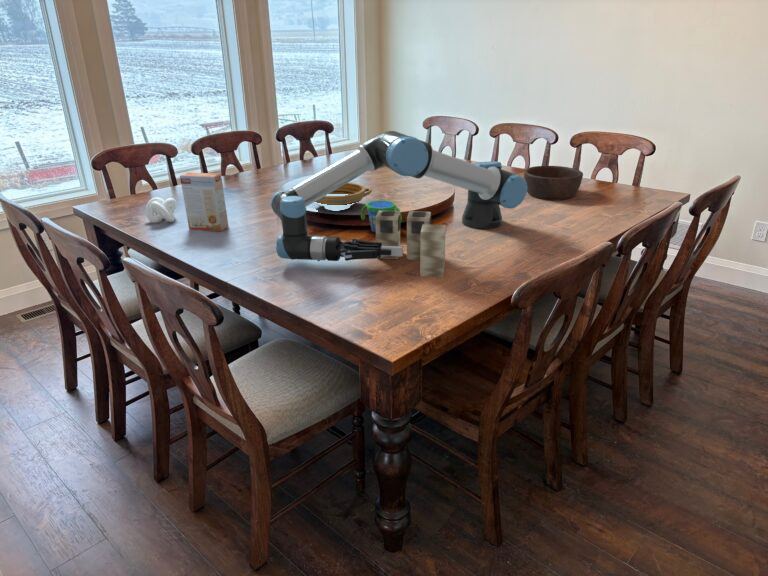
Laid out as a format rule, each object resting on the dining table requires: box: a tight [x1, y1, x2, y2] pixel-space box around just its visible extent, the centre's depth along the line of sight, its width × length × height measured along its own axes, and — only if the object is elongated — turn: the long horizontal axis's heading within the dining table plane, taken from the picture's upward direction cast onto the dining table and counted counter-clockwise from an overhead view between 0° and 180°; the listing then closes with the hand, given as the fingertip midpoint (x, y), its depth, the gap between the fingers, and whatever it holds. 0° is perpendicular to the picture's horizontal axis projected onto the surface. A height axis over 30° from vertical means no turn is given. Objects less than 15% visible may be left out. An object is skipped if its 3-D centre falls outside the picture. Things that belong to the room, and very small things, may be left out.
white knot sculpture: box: [145, 197, 178, 224], centre depth 219 cm, size 11×12×9 cm
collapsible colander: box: [315, 182, 372, 205], centre depth 232 cm, size 30×24×8 cm
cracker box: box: [179, 172, 229, 232], centre depth 207 cm, size 14×6×21 cm, turn 74°
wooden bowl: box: [523, 165, 584, 201], centre depth 245 cm, size 25×25×10 cm
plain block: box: [419, 224, 447, 278], centre depth 166 cm, size 7×7×14 cm
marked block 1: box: [406, 210, 432, 261], centre depth 178 cm, size 7×7×14 cm
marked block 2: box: [375, 210, 401, 260], centre depth 180 cm, size 7×7×14 cm
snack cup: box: [360, 199, 403, 233], centre depth 203 cm, size 16×10×10 cm
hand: (402, 251), depth 168 cm, fingers closed
